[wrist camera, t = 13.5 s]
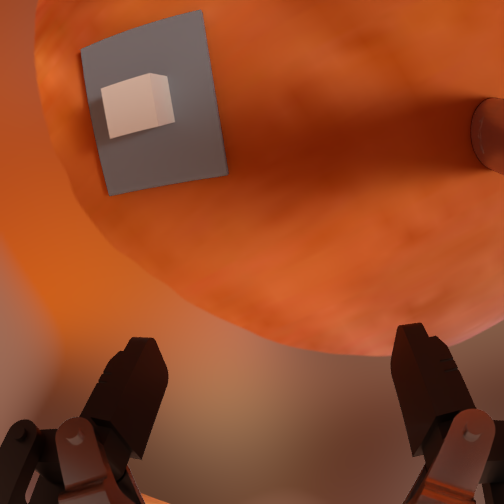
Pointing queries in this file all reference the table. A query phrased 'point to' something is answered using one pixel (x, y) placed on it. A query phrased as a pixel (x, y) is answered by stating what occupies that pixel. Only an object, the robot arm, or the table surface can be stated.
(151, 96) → the cream cube
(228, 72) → the table surface
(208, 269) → the table surface
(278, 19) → the table surface
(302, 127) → the table surface
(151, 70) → the slate mat
